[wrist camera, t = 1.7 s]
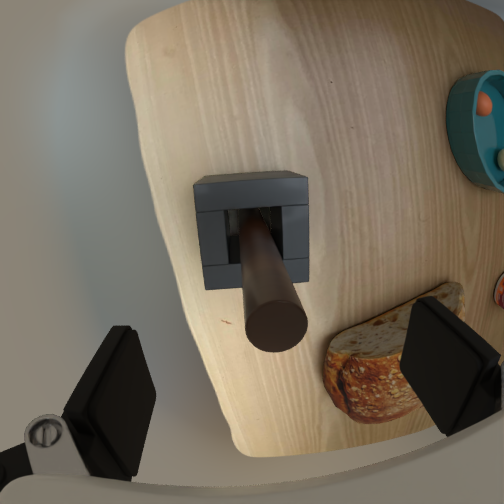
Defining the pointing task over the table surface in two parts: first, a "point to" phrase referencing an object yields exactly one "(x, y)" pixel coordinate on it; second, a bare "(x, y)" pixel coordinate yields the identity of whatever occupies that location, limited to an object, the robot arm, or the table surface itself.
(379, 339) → the bread
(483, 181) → the bowl
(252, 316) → the stick
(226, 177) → the holder
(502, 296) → the pill bottle
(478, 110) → the bead
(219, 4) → the table surface
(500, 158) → the bead
